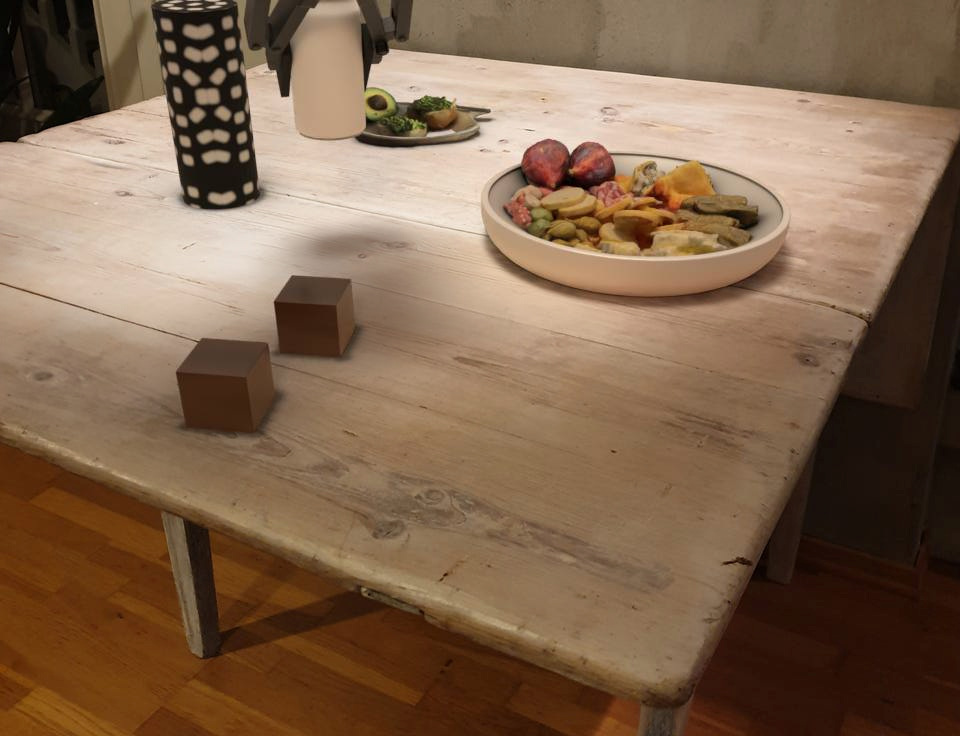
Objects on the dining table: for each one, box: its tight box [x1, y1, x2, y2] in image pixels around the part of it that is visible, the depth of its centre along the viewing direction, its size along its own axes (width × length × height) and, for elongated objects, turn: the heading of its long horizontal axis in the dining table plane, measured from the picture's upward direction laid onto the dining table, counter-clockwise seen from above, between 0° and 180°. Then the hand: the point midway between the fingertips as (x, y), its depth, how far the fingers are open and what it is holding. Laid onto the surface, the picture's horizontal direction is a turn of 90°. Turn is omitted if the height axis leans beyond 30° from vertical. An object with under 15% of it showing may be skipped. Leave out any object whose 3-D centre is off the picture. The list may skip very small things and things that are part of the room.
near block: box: [175, 337, 276, 434], centre depth 69 cm, size 5×5×5 cm
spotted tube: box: [150, 0, 261, 211], centre depth 102 cm, size 8×8×20 cm
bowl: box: [480, 138, 792, 298], centre depth 96 cm, size 30×30×8 cm
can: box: [290, 0, 366, 142], centre depth 86 cm, size 6×6×12 cm
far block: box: [273, 274, 356, 359], centre depth 78 cm, size 5×5×5 cm
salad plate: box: [356, 86, 492, 147], centre depth 129 cm, size 19×18×5 cm
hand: (321, 81), depth 90 cm, fingers closed on can, 6 cm apart
